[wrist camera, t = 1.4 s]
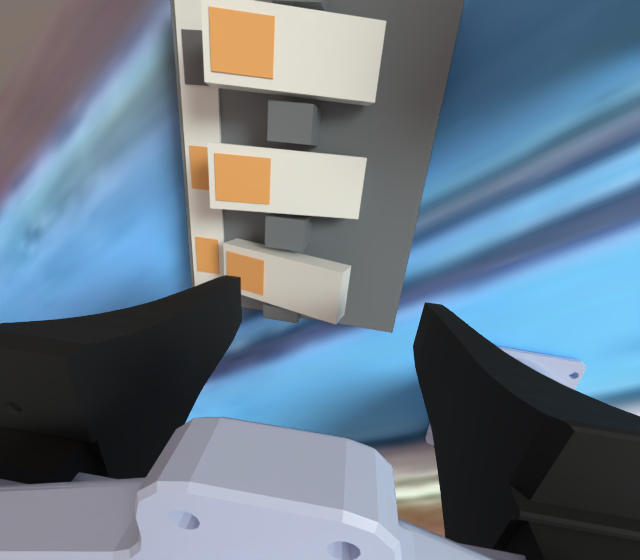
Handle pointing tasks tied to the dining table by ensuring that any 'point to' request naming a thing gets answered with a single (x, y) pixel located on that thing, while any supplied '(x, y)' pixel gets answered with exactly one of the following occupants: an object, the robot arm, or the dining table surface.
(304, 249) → the switch unit
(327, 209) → the rocker middle
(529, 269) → the dining table surface
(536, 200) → the dining table surface
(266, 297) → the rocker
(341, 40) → the rocker
